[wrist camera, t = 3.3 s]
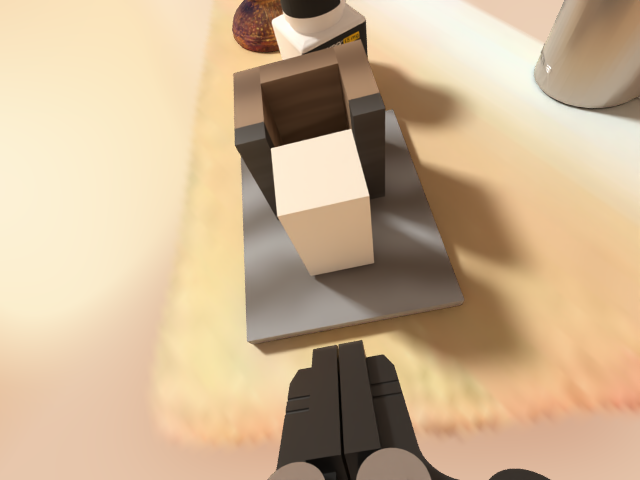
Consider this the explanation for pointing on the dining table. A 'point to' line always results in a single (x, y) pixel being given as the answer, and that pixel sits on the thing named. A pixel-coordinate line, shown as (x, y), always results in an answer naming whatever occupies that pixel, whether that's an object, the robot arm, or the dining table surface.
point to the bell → (256, 25)
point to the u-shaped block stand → (383, 187)
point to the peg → (324, 202)
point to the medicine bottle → (317, 26)
